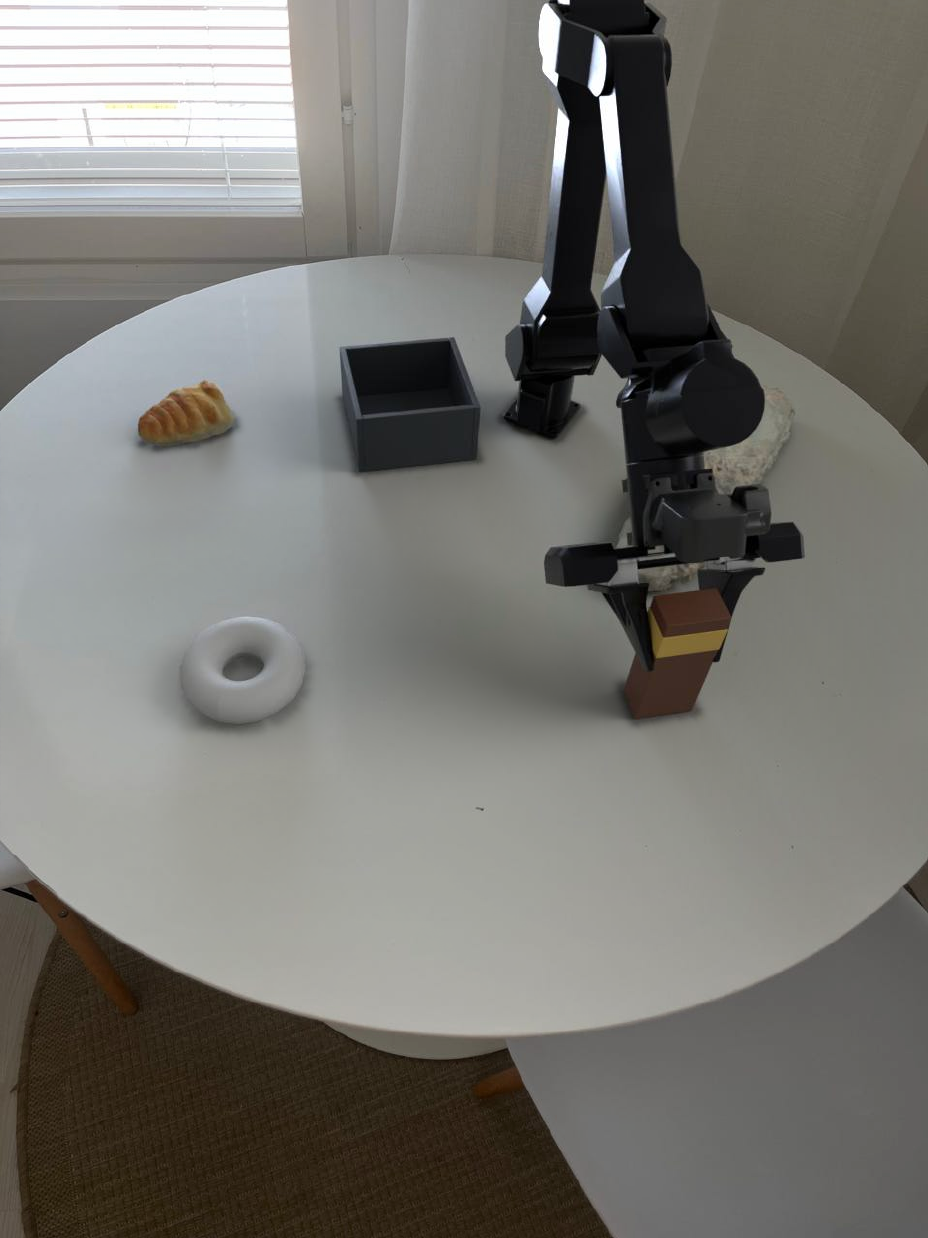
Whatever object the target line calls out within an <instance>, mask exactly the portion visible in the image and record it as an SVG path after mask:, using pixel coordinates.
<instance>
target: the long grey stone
mask: <svg viewBox="0 0 928 1238" xmlns="http://www.w3.org/2000/svg"><path fill="white" fill-rule="evenodd" d="M761 387H762V388H763V390H764V395H765V407H764V413H763V416H762V419H761V421H760V423H759V425H758V427H757V429H756V430H755V431H754V432H753V433H752V434H751V435H750V436H749V437H748V438H747V439H745V440H744V441H742V442H741V443H738V444H735V445H732V446H729V447H724V448H720V449H715V450H710V451H706V452H704V455H702V456H704V464H705V469H711V468H713V474H714V476H715V483H716V488H717V491H718V493H719V494H730V493H733V490H734V488H735V487H737V486H745V485H754V484H760V483H761V482H762V480H763V478H764V476H765V475H766V474H768V473H770V472H771V470H772V467H773V465H774V464H775V462H776V460H777V459H778V454H779V452H780V450H781V449H782V446H783V445H785V443H786V442H787V441H788V439H789V438H790V436H791V432H790V431H791V427H792V424H793V421H794V417H795V414H796V406H795V405H794V404H792V401H791V399H790V396H788V394H786V393H784V392H782V390H780V387H768V386H767V385H764V386H761ZM630 532H632V529H631V518H630V516H629V517H628V518H627V519H626V520H625V521H624V522H623V523H622V528H621V531H620V532H619V534H618V542H617V545H616V546H615V547H614V549H616V548H624V547H633V546H628V544H627V533H630ZM655 548H656V549H654V550H648V553H653V552H662V551H664V547H663V546H655ZM706 566H707V563H706V561H705V562H702V563H688V564H680V565H671V566H663V567H655V568H646V569H638V574H639V582H647V583H649V589H648V592H653V591H656V592H659V591H660V592H662V591H663V592H665V591H666V590H667V589H670V588H671V587H672V586H675V584H676V583H677V582H679V581H680V583H681V584H682V585H685V584H687V583H688V582H690V581H691V580H692V579H693V575H695V574H696V573H697V570H700V569H704V567H706Z"/></svg>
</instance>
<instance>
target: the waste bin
mask: <svg viewBox="0 0 928 1238" xmlns="http://www.w3.org/2000/svg"><path fill="white" fill-rule="evenodd" d="M338 348H339V360H340V361H339V362H340V363H339V364H340V377H341V394H342V402H343V407H344V411H345V415H346V420H347V425H348V429H349V433H350V438H351V443H352V446H353V452H354V455H355V460H356V465H357V469H358V473H363V472H364V473H365V472H372V471H373V472H375V471H382V470H392V469H400V468H402V469H403V468H410V467H419V466H429V465H435V464H447V463H457V462H465V461H474V460H475V461H476V460H477V459H478V458H477V457H478V446H479V434H480V433H479V432H480V421H481V419H480V418H481V408H482V407H481V405H480V402H479V399H478V397H477V394H476V392H475V389H474V386H473V383H472V381H471V378H470V376H469V372H468V370H467V367H466V365H465V362H464V359H463V357H462V354H461V352H460V349H459V346H458V343H457V341H456V338H455V337H454V336H451V337H439V338H428V339H415V340H403V341H392V342H391V341H389V342H380V343H369V344H367V343H366V344H356V345H345V346H339V347H338Z"/></svg>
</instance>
